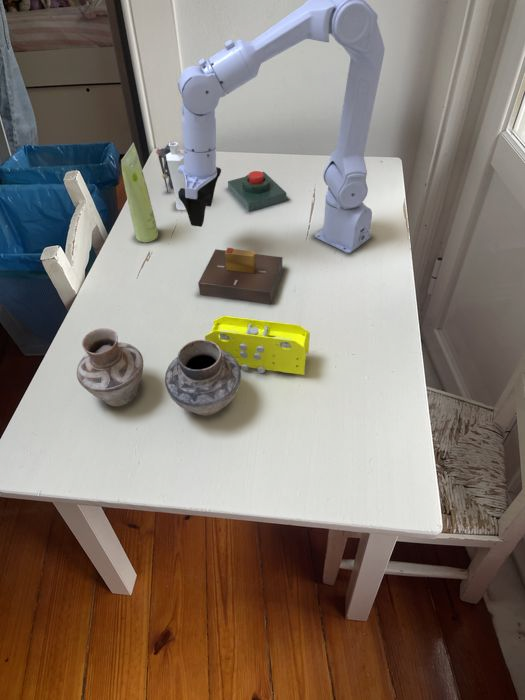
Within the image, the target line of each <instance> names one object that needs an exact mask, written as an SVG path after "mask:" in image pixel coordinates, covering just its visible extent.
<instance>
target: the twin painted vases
mask: <svg viewBox="0 0 525 700" xmlns="http://www.w3.org/2000/svg"><path fill="white" fill-rule="evenodd" d="M118 338H119V337H118V334H117V332H116V331H114V330H113V329H111V328H105V327H101V328H96V329H93V330H91V331H89V332H88V333H87V334H86V335H85V336H84V337H83V338H82V341H81V347H82V349H83V350H84V352H85V355H84V356H82V358H81V359H80V361H79V363H78V364H77V368H76V378H77V381H78V383H79V385H81V386H82V388H83V389H85V390H86V391H87V392H88V393H90V394H91V395H93V396H94V397H96V398H97V399H99V400H103V402H104V403H105V404H107V406H112V407H121V406H125V405H127V404H130V402H132V401H133V400H134V399H135V397H136V396H137V395H138V392H139V385H140V383H141V380H142V377H143V372H144V358H143V355H142V353H141V352H140V350H139V349H138V348H136V346H134V345H132V344H130V343H126V342H121V341H120V342H119V341H118ZM241 380H242V369H241V366H239V363H238V361H237V360H236V359H235V358H234V357H233V356H232V355H231V354H230V353H228V352H226V351H224V350H221V349H220V348H219V346H218V345H217V344H216V343H214V342H212V341H209V340H205V339H195V340H191V341H189V342H187V343H186V344H184V345H183V346H182V347H181V348H180V349H179V351H178V352H177V357H175V358H174V359H173V360H172V361H171V362H170V363H169V364H168V366H167V369H166V371H165V375H164V385H165V388H166V391H167V393H168V395H169V397H170V398H171V400H172V401H173V402H174V403H175V404H176V405H178V406H179V407H180V408H182V409H184V410H185V411H188V412H191V413H195V414H196V415H199V416H211V415H214V414H217V413H218V412H220V411H221V410H222V409H223V408H225V407H227V405H229V404H230V403H231V402H232V401H233V399H234V398H235V396H236V395H237V393H238V390H239V388H240V384H241Z"/></svg>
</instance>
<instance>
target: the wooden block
mask: <svg viewBox="0 0 525 700" xmlns="http://www.w3.org/2000/svg"><path fill="white" fill-rule="evenodd" d="M255 254H256V251H253V250H246V249H237V248H233V247H227V248H226V252H225V258H226V268H227V270H230V271H238V272H246V273H254V272H255V270H256V257H255Z"/></svg>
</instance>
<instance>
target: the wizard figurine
mask: <svg viewBox="0 0 525 700" xmlns="http://www.w3.org/2000/svg"><path fill="white" fill-rule="evenodd" d="M171 142H172V141H170V142H169V143H171ZM169 143H167V144H166V146H165V147H164V148H163V147H162V148H157V149H156V151H155V153H156V155H157V157H158V160H159V165H160V169H161V172H162V176H161V177H162V178H163V181H164V184H165V188H166V192H167V193H169V189H168V186H169V188H170V189H171V190H174V188H173V184H172V180H171V176H170V172H169V168H168V163H167V159H166V154H168V153H170V146H169ZM179 152H180V153H181V151H180V150H179ZM167 179H168V183H167Z"/></svg>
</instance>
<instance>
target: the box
mask: <svg viewBox="0 0 525 700" xmlns="http://www.w3.org/2000/svg"><path fill="white" fill-rule="evenodd" d="M261 172H262V173H263V174H264V182H263V183H261V184H251V183H249V177H248V175H249V174H247V175H245V176H243V177H238V178H235V179H231V180H228V181H227V190H228V191H229V192H230V193H231V194H232V195H233V197H235V199H236V200H237V201H238V202H239V203H240V204H241V205H242V206H243V207H244V208H245V210H246V211H247V212H249V213H250V212H253V211H257V210H260V209H264V208H267V207H270V206H274V205H277V204H280V203H284V202H287V191H285V190H284V189H283V188H282V187H281V186H280V185H279V184H278V183H277V182H276V181H275V180H274V179H272V178H271V176H269V175H268V174H267V173H266V172H265V171H261Z"/></svg>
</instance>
